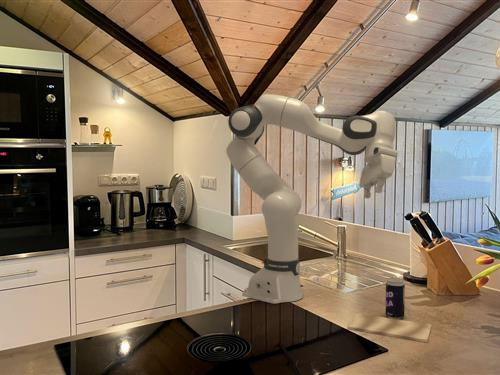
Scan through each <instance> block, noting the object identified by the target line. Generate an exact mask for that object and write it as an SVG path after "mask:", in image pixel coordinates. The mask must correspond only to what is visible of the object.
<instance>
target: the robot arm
mask: <svg viewBox="0 0 500 375" xmlns="http://www.w3.org/2000/svg"><path fill="white" fill-rule="evenodd" d="M227 122H228V127H229V129H230V132H231V133H232V134H233V135H234V136H233V137H234V138H233V140H231V141H230V143H228V145H227V147H226V152H225V153H226V155H227V158H228V160H229V162H230V163H231V165H232V166H233V168H234V170H235V171H236V173H238V175H239V176H240V177H241V179H242V180H243V182H244V183H245V184H246V185H247V186H248V188H249V189H250V191H252V192H253V193H255V194H256V195H257V196H259V197H260V198H261V199H262V200H263V202H262V204H261V213H262V215H263V217H264V224H265V228H266V229H265V230H266V235H267V256H266V258H264V259H263V260H261V265H263V267H262V268H261V269H259V270H258V271H257V272H255V273H254V274H253V275H252V276H250V278H249V281H248V286H247V287H246V288H245V289H243V291H242V293H241V295H242V297H246V298H248V299H253V300H257V301H261V302H266V303H270V304H280V303H290V302H296V301H298V300H301V299H303V297H304V294H303V292H302V287H301V281H300V270H301V263H300V262H301V261H300V258H299V235H298V232H297V227H296V219H295V218H296V216H297V215H298V214H299V213H300V212H301V208H302V199H301V197H300V195H299V194H298V192H296V191H295V190H294V189H293V188H292V187H291V186H290V184H288V183H287V182H286V181H285V180H284V179H283V178H282V177H281V176H280V175H279V174H278V172H276V171H275V170H274V169H273V167H272V166H271V164H269V162H268V161H267V160H266V158H265V157H264V156H263V155H262V153H261V152H260V151H259V150H258V148H257V146H256V145H257V143H258V141H259V140H260V139H261V137H262V136H263V134H264V132H265V126H267V125H272V126H273V125H274V126H277V127H280V128H284V129H286V130H291V131H295V132H297V133H301V134H303V135H306V136H308V137H311V138H313V139H316V140H319V141H321V142H325V143H327V144H331V145H333V146H335V147H337V148H338V149H340V150H341V151H342V152H344V153H345V154H347V155H349V156H357V155H361V154H363V153H364V152H365V154H364V162H365V163H366V165H365V166H364V167H363V168H362V171H361V174H360V178H359V184H358V185H359V188H362V189H363V193H364V194H363V198H364V199H370V198H371V196H372V193H371V190H372V189H371V188H373V187H375V186H376V187H375V189H374V192H375V193H377V194H381V193H382V192H383V188H384V185H385V183H386V180H387V179H389V178H391V177H392V176H393V174H394V170H395V166H396V165H395V164H396V158H397V157H398V154H399V153H398V152H399V151H398V150H396V149H394V146H393V143H394V141H395V136H396V126H397V124H396V118H395V117H394V115H393V114H392V113H390V112H388V111H385V110H376V111H374V112H372V113H370V114H366V115H352V116H349V117H348V118H346V119H345V120H344V122H343V123H342V129H341V128H338V127H335V126H333V125H329V124H327V123H324V122H322V121H320V120H319V119H318V118H317V117H316V116H315V115H314V113H313V112H312V110H311V108H310V107H309V105H308V104H307V103H305V102H303V101H301V100H299V99H298V98H294V97H289V96H286V95H279V94H270V93H269V94H268V93H265V94H263V95H261V96H260V97H259V98H258V100H257V101H256V105H254V104H250V105H249V104H248V105H246V106H241V107H238V108H235V109H233V110H232V111H231V113H230V114H229V116H228V119H227Z"/></svg>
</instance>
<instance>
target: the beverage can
mask: <svg viewBox="0 0 500 375" xmlns="http://www.w3.org/2000/svg"><path fill="white" fill-rule="evenodd" d="M405 286H406V285H405V282H404V279H402V278H398V277H389V278H387V279H386V282H385V315H386V316H387V318H391V319H398V320H402V318H404V317H405V303H406V301H405V297H406V296H405V295H406V294H405V292H406V288H405Z"/></svg>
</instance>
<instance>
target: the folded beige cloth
mask: <svg viewBox="0 0 500 375" xmlns="http://www.w3.org/2000/svg"><path fill="white" fill-rule="evenodd" d="M347 330H350V331H351V330H352V331H357V332H362V333H369V334H375V335H381V336H386V337H392V338H396V339H397V338H398V339H404V340H408V341H409V340H410V341H415V342H420V343H426V344H427V343H428V342H429V337H430V334H431V330H432V324H430V323H429V324H428V323H423V322H416V321H411V320H410V321H409V320H404V319H391V318H389V317H384V316H377V315H371V314H364V313H360V312H359V313H357V312H356V314H355V315H354V317H353V318H352V319H351V321H350V322H349V323H348V324H347Z"/></svg>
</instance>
